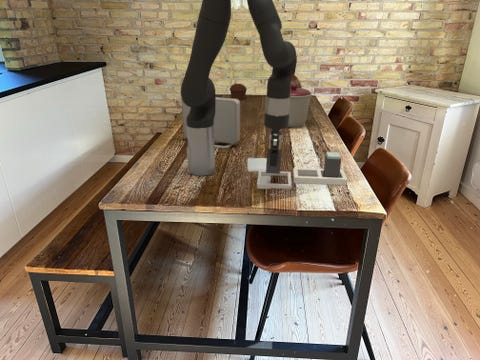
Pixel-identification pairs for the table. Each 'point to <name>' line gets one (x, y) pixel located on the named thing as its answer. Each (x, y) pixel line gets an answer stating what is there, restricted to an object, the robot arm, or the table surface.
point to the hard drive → (256, 164)
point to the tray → (265, 180)
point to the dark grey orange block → (277, 168)
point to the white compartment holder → (317, 177)
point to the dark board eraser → (332, 164)
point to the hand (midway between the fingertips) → (273, 162)
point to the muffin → (238, 91)
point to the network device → (221, 121)
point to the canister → (298, 106)
